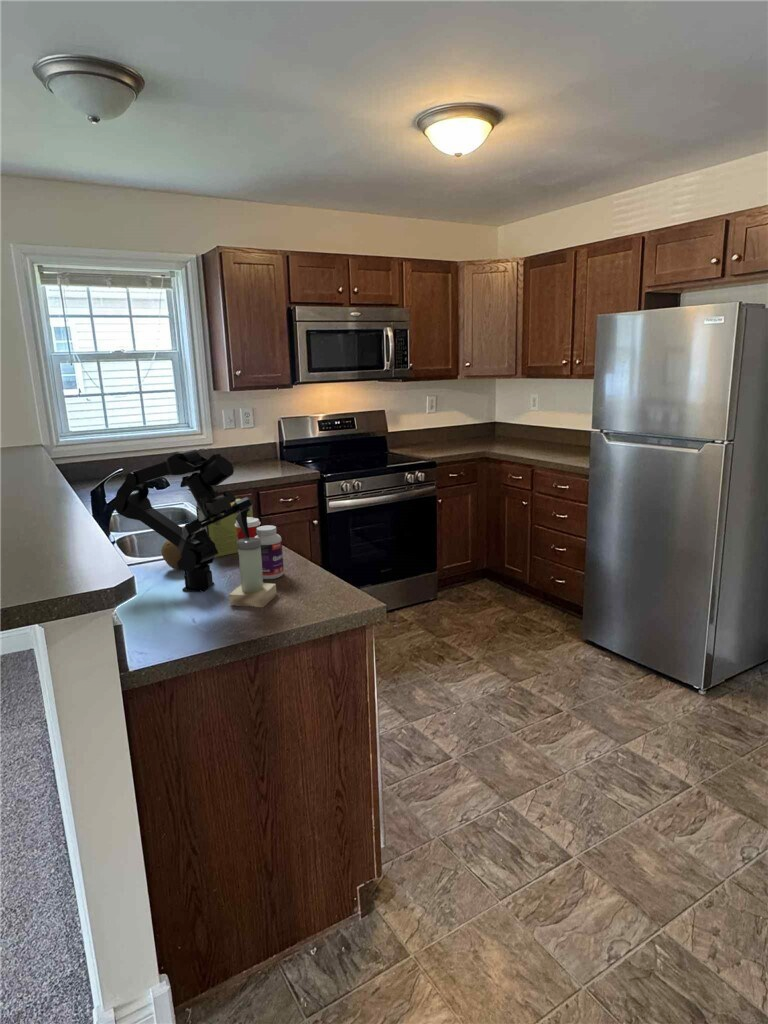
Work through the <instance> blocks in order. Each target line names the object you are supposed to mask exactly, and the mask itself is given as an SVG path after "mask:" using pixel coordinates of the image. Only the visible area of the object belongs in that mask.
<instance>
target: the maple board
mask: <svg viewBox="0 0 768 1024" xmlns="http://www.w3.org/2000/svg"><path fill="white" fill-rule="evenodd" d="M263 585H264V589H263V590H261V591H259V592H255V593H246V592H243V591H242V588H241V584H240V585H239V586H237V587H236V588H235V589H233V591H232V592H230V593H229V594H228V596H229V597H228V599H229V600H228V601H229V606H232V605H236V607H247V606H252V607H251V608H264V607H265V606H266V605H267V604H268V603H269V602H271V600H273V598H274V597H276V596H277V595H276V594H277V583H269V582H268V583H267V582H263ZM253 606H254V607H253Z"/></svg>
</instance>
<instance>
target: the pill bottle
mask: <svg viewBox="0 0 768 1024" xmlns="http://www.w3.org/2000/svg"><path fill="white" fill-rule="evenodd" d="M256 530H257V534H258V535H257V536H255V537H254V538H260V539H261V558H262V572H263V580H275V579H278V578H280V577H282V576H283V574H284V571H285V570H284V569H285V568H284V557H283V556H284V554H283V544H282V543H283V542H282V541H283V540H282V537H281V535H280V534H278V533H277V526H275V525H261V526H260V527H258V528H257V529H256Z"/></svg>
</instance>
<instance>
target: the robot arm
mask: <svg viewBox="0 0 768 1024" xmlns="http://www.w3.org/2000/svg"><path fill="white" fill-rule="evenodd" d="M198 471H199V472H198ZM186 474H189V475H186ZM233 474H234V466H233V464H232V462H231V461H229V460H228V459H227V458H225V457H223V456H222V455H221V454H220V453H214V454H212V455H211V456H210V457H209V458H207V457H205V456H203V455H201V454H200V453H199V451H197V450H196V449H189V450H184V451H180V452H179V451H178V452H176V453H173V454H171V455H170V456H168V457H167V458H166V459H165V460H164V461H162V462H159V463H156V464H152V465H150V466H146V467H143V468H141V469H137V470H132V471H129V472H128V473H127V474H126V476H125V480H124V481H123V483H122V484H121V486H119V488H118V489H117V490H116V491H117V492H116V495H115V497H114V500H113V501H114V502H113V508H114V510H115V512H116V513H117V515H120V516H122V517H124V518H126V519H129V520H136V521H139V522H141V523H143V524H144V525H146V526H147V527H148V528H150V529H151V530H153V531H154V532H155V533H157V534H159V535H160V536H161V537H163V539H166V541H167V540H168V541H170V542H171V543H173V544H174V545H175V546H177V547H178V549H179V552H180V555H181V556H182V557H181V559H180V560H179V561H178V562H177V565H178V567H179V570H178V571H183V576H184V585H185V587H183V588H182V591H183V592H197V593H198V592H200V593H204V592H206V591H207V590H208V589H209V588H211V587H212V586H214V585H215V582H214V581H213V573H212V572H213V571H212V570H211V567H210V566H211V565H210V564H213V563H214V558H216V557H215V555H217V554H218V551H217V549H216V547H215V543H214V542H213V541H212V540H211V537H209V536H208V534H207V532H206V529H202V528H204V527H206V526H208V525H210V524H213V523H215V522H217V521H219V520H221V519H224V518H226V517H228V516H230V515H232V514H236V515H237V517H236V520H237V522H238V524H239V526H240V528H241V530H242V532H243V533H244V535H245V537H246V538H250V537H249V531H248V525H247V513H248V512H249V511H250V508H251V507H252V508H253V506H254V504H253V502H252V500H251V498H250V497H244V498H240V499H241V500H239V501H236V499H237V498H236V496H235V494H234V491H232V489H230V488H229V489H227V490H225V491H223V492H222V493H223V494H222V495H221V494H220V493H219V491H218V490H216V489H215V487H216V486H218V485H220V484H222V483H223V482H225V480H227V479H229V478H230V477H231V476H233ZM180 475H184V476H182V479H181V482H180V484H179V485H180V486H179V487H180V488H184V487H188V490H189V491H190V492H191V495H192V497H193V498H194V500H195V502H196V506H198V507H199V508H200V509H201V511H202V513H203V515H204V520H202V521H199V520H198V519H197V518H196V519H194V520H193V521H190V522H187V523H186V524H185V525H184V526H183V527H181V526H180V525H179V524H177V523H176V522H174V521H173V520H172V519H170V518H168V517H167V516H166V515H164V514H162V513H161V512H160V511H158V510H157V509H155V508H154V507H153V506H152V503H151V500H150V499H149V498H148V496H149V493H150V492H149V491H150V490H149V485H148V483H149V482H151V481H153V480H157V479H161V478H163V477H166V476H180ZM185 475H186V476H185ZM136 487H137V490H135V489H136ZM234 501H236V502H235V503H234V504H233V505H232V506H231V504H230V503H232V502H234ZM223 513H224V515H223ZM211 520H212V521H211Z"/></svg>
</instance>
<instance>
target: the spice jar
mask: <svg viewBox="0 0 768 1024" xmlns="http://www.w3.org/2000/svg"><path fill="white" fill-rule="evenodd" d="M237 548H238V562H239V574H240V583H241V584H240V585H241V588H242V591H243V592H246V593H255V592H259V591H261V590H263V589H264V585H263V583H264V579H263V572H262V558H261V539H260V538H254V537H251V538H243V539H240V540H238V541H237Z"/></svg>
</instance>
